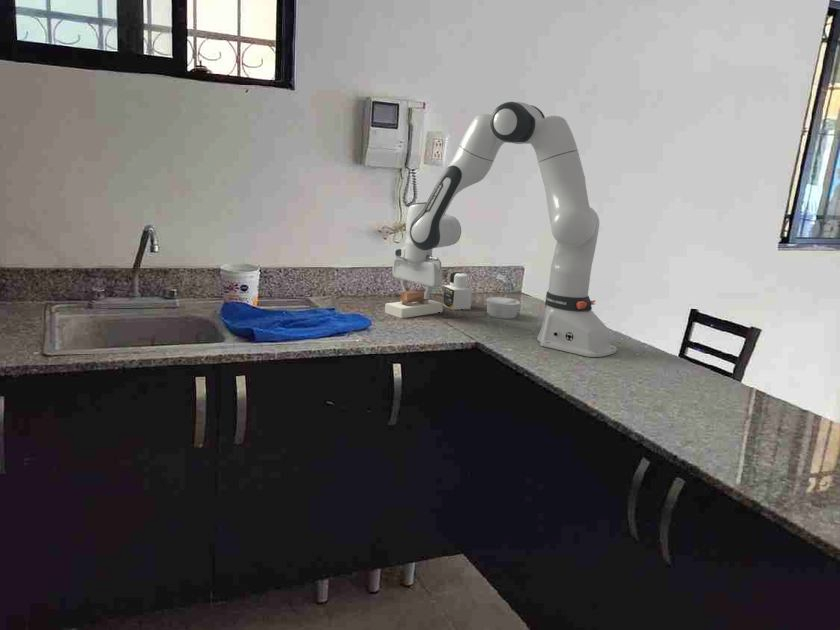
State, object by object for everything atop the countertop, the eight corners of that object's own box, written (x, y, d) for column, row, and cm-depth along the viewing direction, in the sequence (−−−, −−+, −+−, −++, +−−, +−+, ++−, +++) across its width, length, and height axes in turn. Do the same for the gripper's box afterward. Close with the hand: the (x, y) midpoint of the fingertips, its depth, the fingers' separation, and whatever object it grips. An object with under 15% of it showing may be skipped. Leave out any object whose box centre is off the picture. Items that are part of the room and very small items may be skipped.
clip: (428, 311, 218) (429, 291, 217) (405, 315, 211) (407, 293, 210) (422, 310, 220) (423, 289, 219) (399, 313, 213) (400, 291, 212)
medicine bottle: (442, 305, 230) (445, 271, 227) (460, 304, 233) (463, 271, 230) (452, 310, 223) (455, 274, 221) (470, 309, 226) (473, 274, 224)
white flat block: (442, 312, 219) (442, 303, 218) (401, 318, 207) (401, 308, 206) (425, 307, 225) (426, 298, 224) (384, 312, 213) (385, 303, 212)
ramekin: (520, 321, 215) (522, 305, 214) (486, 318, 215) (487, 302, 214) (516, 313, 226) (518, 298, 224) (483, 311, 226) (485, 295, 225)
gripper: (448, 257, 206) (445, 301, 209) (404, 248, 221) (402, 289, 224) (433, 258, 202) (430, 303, 205) (390, 249, 217) (387, 291, 220)
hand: (415, 296), depth 215 cm, fingers open, 8 cm apart
